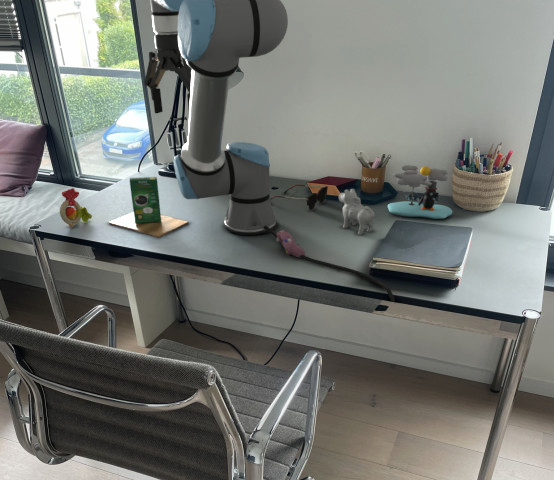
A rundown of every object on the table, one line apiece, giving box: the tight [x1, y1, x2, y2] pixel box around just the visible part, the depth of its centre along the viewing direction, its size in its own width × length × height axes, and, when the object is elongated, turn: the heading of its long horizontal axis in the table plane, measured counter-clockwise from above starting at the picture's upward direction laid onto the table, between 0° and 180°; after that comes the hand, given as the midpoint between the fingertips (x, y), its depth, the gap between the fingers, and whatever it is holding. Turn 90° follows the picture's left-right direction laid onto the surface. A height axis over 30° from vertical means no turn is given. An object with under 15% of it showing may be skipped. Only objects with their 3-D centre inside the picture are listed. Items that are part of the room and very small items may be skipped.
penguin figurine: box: [387, 164, 453, 220], centre depth 171 cm, size 20×11×15 cm, turn 72°
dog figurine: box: [338, 188, 375, 236], centre depth 164 cm, size 5×13×11 cm, turn 38°
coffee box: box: [129, 176, 162, 224], centre depth 166 cm, size 8×3×13 cm, turn 101°
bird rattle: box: [59, 187, 93, 228], centre depth 167 cm, size 6×11×9 cm
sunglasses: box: [270, 184, 329, 211], centre depth 184 cm, size 14×16×5 cm
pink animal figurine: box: [275, 229, 306, 259], centre depth 151 cm, size 10×5×7 cm, turn 17°
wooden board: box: [109, 211, 189, 238], centre depth 170 cm, size 20×13×1 cm, turn 57°
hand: (175, 115), depth 169 cm, fingers open, 13 cm apart
